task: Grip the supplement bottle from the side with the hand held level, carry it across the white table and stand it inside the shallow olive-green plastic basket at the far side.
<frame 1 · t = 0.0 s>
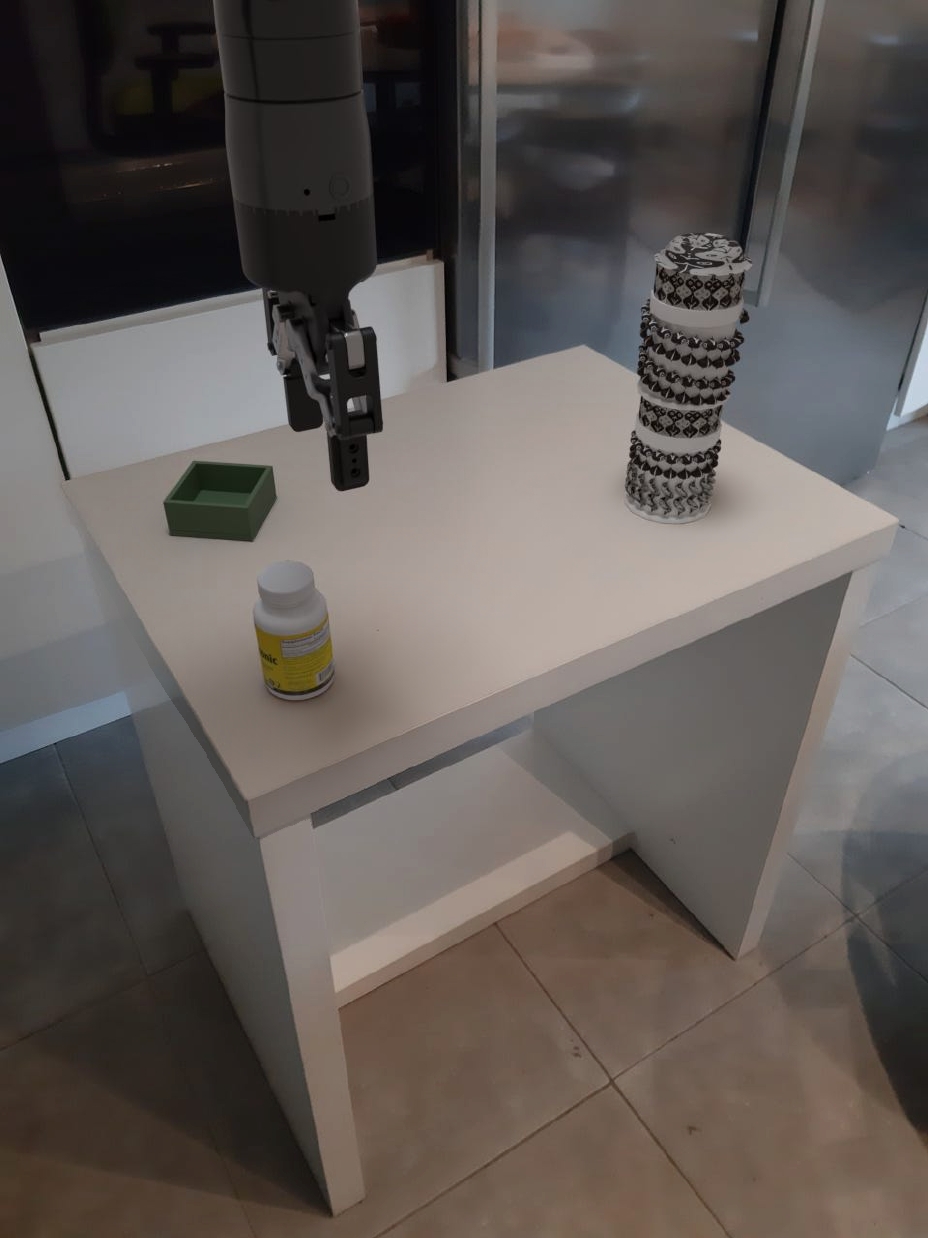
hand: (327, 455, 62), 20 cm above the table, tool pointing down, fingers open, 8 cm apart
supplement bottle: (300, 681, 76), on the table
decorative candle: (666, 502, 97), on the table
basket: (224, 515, 94), on the table
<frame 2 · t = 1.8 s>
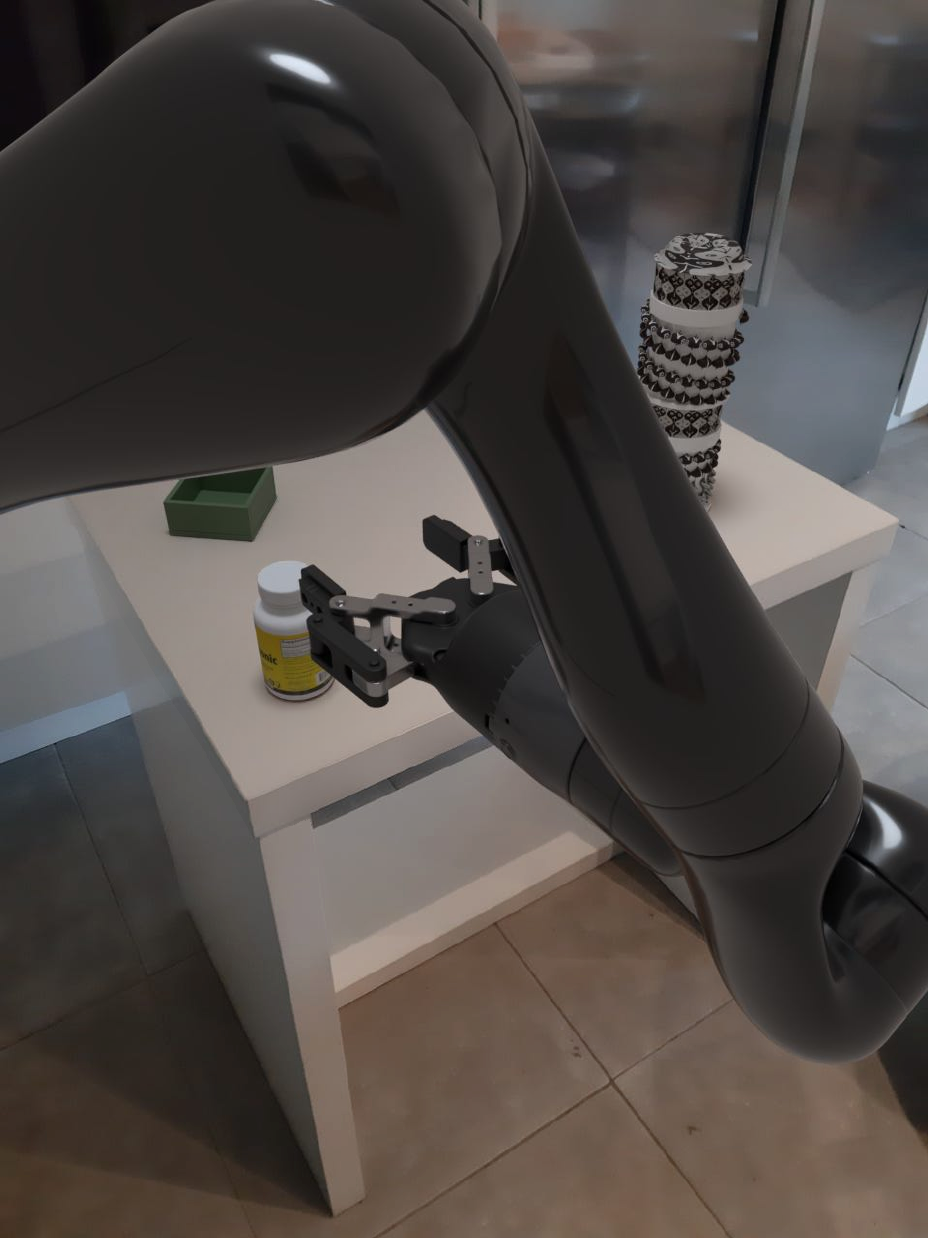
hand: (368, 553, 58), 17 cm above the table, tool horizontal, fingers open, 8 cm apart
nothing on the table moved.
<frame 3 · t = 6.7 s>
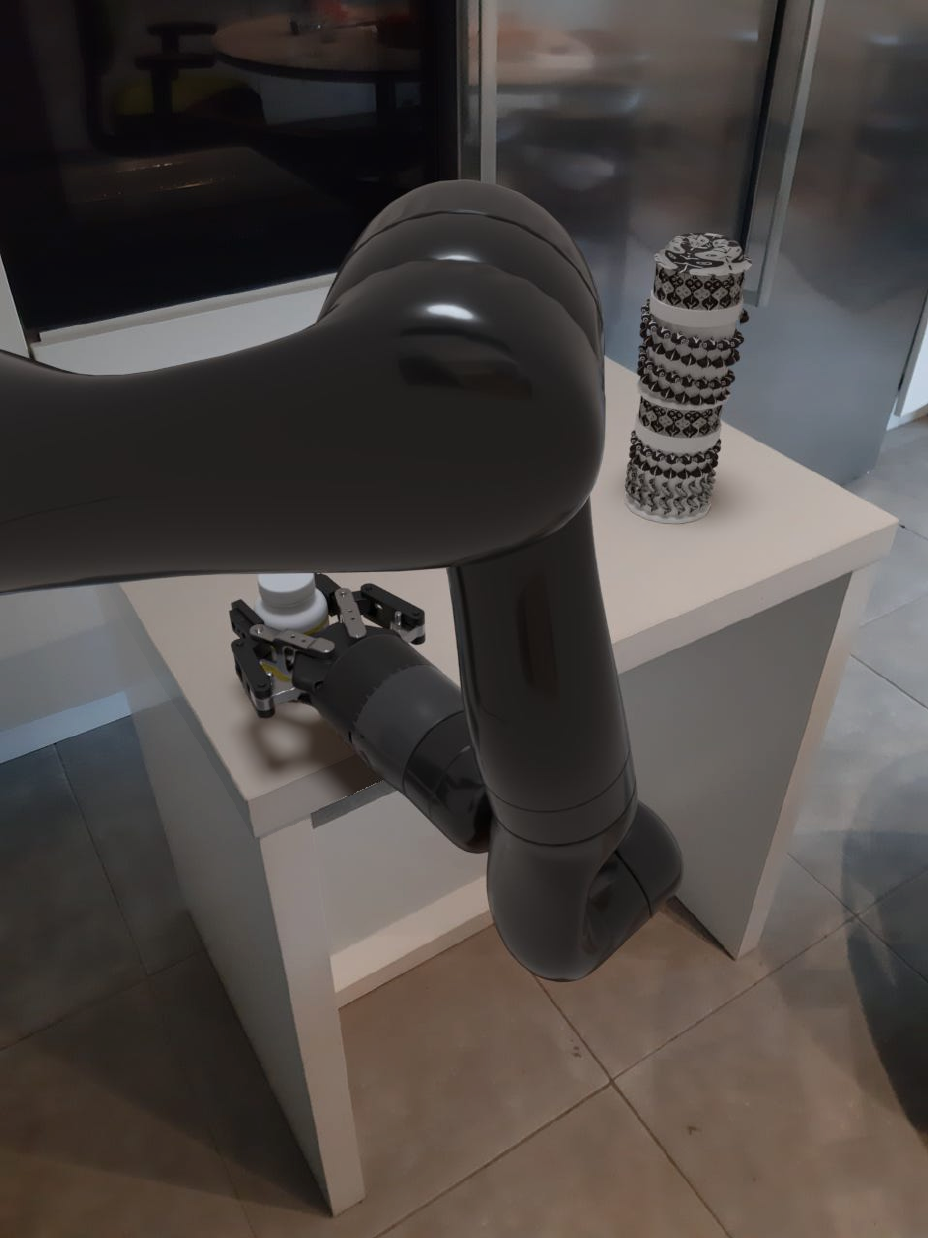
hand: (273, 596, 73), 7 cm above the table, tool horizontal, fingers closed on supplement bottle, 5 cm apart
supplement bottle: (300, 681, 75), on the table, touching gripper
everything else where it was.
when the fingers open (7 cm above the table, at t = 15.7 s): supplement bottle stays where it is, resting on basket.
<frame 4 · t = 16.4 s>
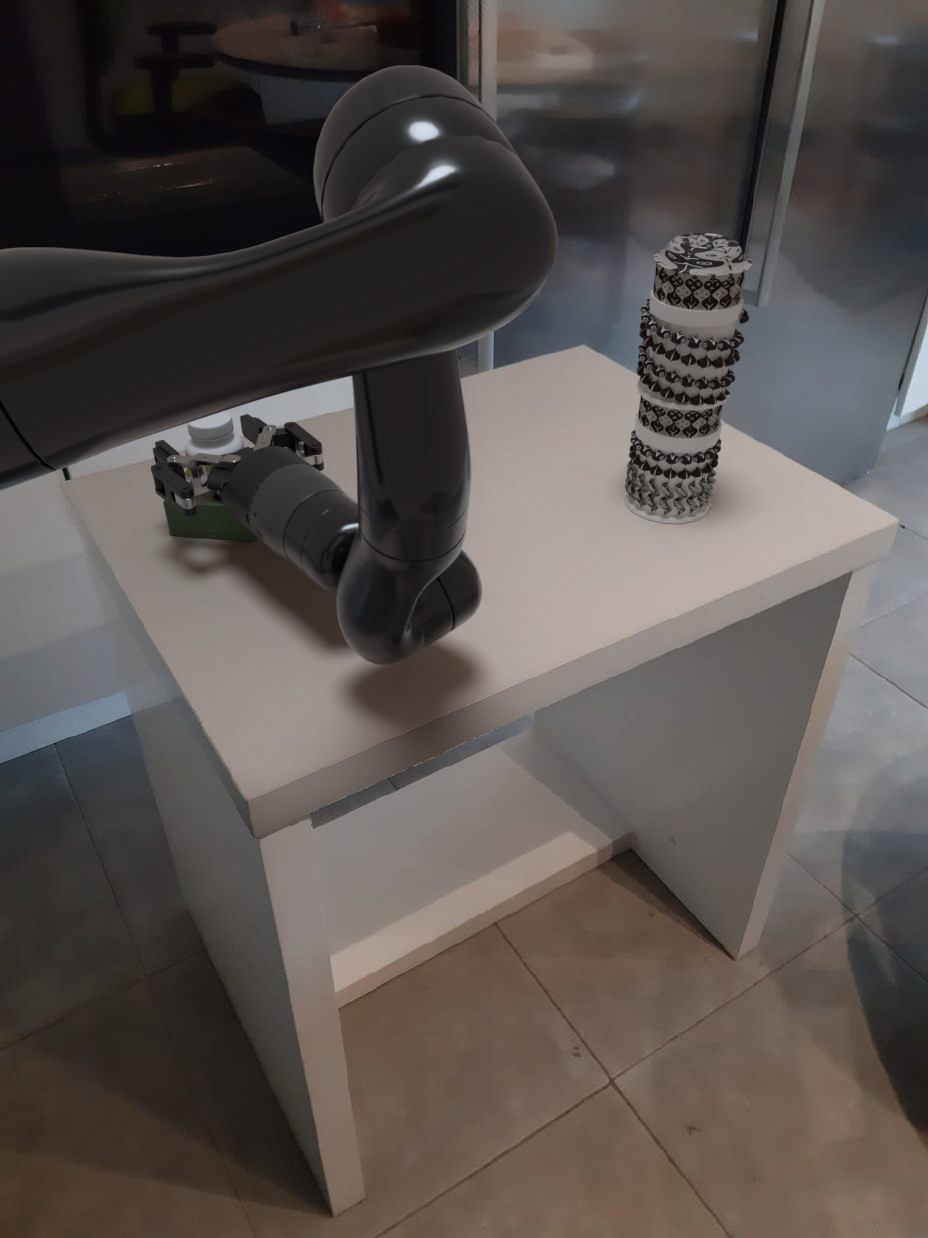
hand: (202, 436, 91), 8 cm above the table, tool horizontal, fingers open, 8 cm apart
supplement bottle: (226, 512, 94), resting on basket
everything else where it was.
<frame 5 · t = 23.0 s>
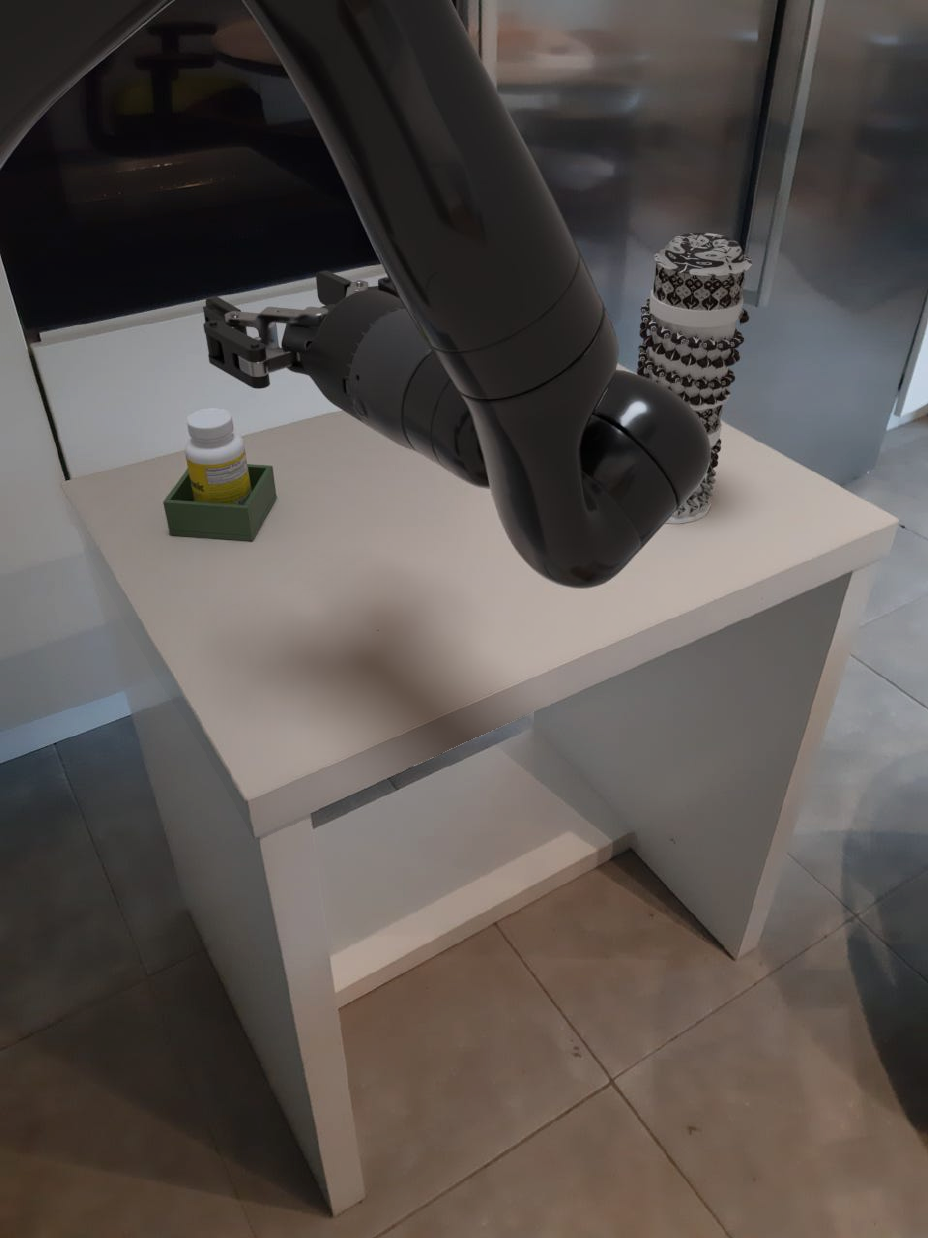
hand: (267, 298, 68), 26 cm above the table, tool horizontal, fingers open, 8 cm apart
nothing on the table moved.
at the end: supplement bottle 0.2 cm off-centre in the basket, point 0.4 cm above the basket's base; supplement bottle tilted 0°; the gripper is holding nothing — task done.
